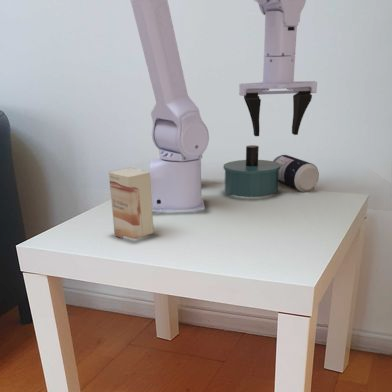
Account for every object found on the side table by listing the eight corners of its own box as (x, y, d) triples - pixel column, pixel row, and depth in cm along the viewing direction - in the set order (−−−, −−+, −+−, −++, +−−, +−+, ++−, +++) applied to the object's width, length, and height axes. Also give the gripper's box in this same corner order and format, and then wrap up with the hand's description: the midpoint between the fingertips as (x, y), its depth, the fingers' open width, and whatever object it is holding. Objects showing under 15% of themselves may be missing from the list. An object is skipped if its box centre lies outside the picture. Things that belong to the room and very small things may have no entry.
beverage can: (318, 158, 102) (288, 149, 112) (292, 171, 101) (265, 160, 111) (323, 186, 105) (294, 174, 115) (299, 198, 105) (271, 185, 115)
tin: (227, 200, 102) (227, 174, 99) (223, 187, 111) (223, 163, 108) (281, 198, 102) (282, 172, 100) (272, 186, 111) (273, 161, 109)
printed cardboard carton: (113, 236, 85) (106, 171, 79) (134, 229, 87) (129, 166, 82) (134, 243, 81) (128, 176, 76) (155, 236, 84) (151, 170, 79)
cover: (227, 178, 99) (227, 152, 97) (220, 166, 109) (220, 142, 106) (286, 175, 100) (287, 150, 97) (273, 164, 109) (274, 140, 107)
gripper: (243, 57, 93) (242, 139, 100) (324, 55, 94) (317, 136, 101) (237, 56, 99) (236, 133, 106) (313, 54, 100) (307, 131, 107)
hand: (275, 134), depth 104 cm, fingers open, 7 cm apart
